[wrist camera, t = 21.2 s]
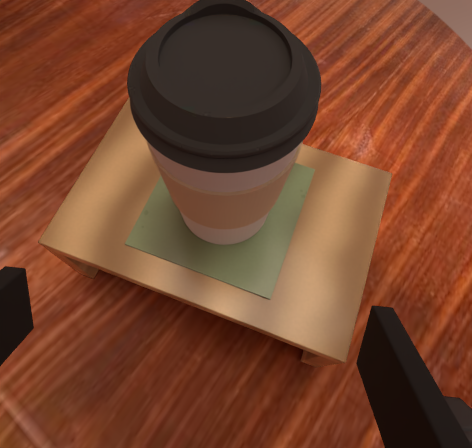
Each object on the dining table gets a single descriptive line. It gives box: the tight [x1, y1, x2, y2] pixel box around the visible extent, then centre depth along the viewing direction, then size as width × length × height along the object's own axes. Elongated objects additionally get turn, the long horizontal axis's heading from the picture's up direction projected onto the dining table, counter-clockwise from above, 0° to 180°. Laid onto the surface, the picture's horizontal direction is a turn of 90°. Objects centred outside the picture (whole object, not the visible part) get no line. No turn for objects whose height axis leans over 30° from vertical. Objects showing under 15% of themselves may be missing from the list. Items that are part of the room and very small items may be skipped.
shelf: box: [38, 98, 392, 367], centre depth 34 cm, size 24×16×9 cm, turn 69°
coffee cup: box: [127, 0, 321, 245], centre depth 23 cm, size 9×9×15 cm
